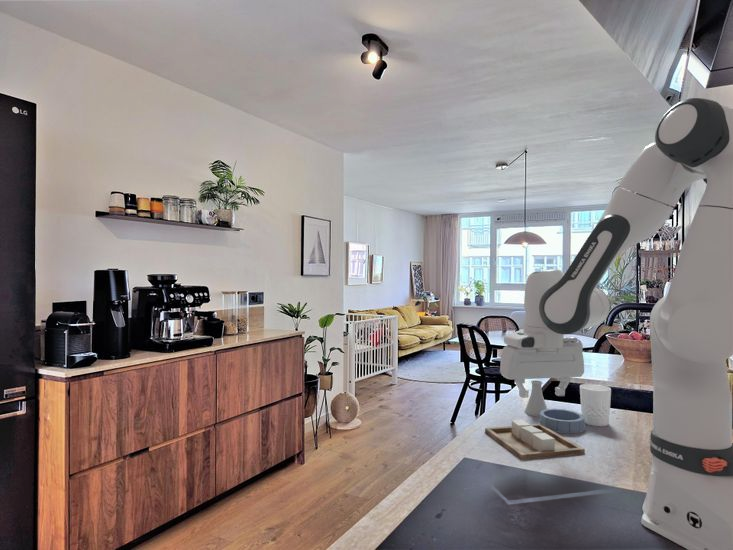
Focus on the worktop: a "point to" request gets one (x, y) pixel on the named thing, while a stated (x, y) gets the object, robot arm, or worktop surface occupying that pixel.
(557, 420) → the bowl
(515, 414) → the worktop surface
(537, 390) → the flask
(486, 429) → the tray
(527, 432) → the cream white small block
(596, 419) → the white cup
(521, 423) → the cream small block
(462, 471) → the worktop surface
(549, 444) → the white small block
